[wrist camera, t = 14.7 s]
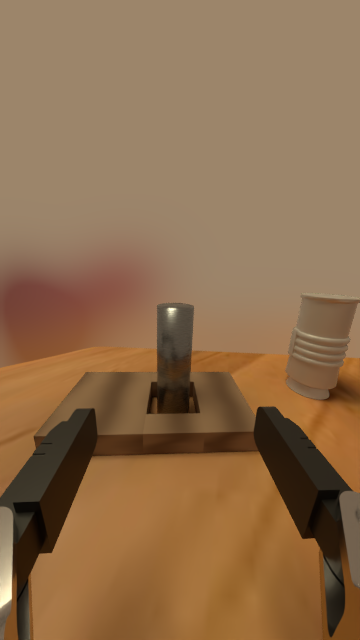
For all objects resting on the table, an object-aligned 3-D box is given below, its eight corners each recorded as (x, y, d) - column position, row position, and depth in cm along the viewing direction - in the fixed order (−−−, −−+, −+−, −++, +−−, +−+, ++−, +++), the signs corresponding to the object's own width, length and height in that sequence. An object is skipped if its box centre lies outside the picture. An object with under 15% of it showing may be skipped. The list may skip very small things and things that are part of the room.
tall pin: (156, 425, 21) (155, 309, 18) (158, 402, 25) (158, 302, 22) (189, 425, 22) (196, 310, 18) (186, 401, 25) (191, 303, 22)
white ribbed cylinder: (277, 373, 34) (293, 292, 30) (320, 379, 32) (342, 294, 28) (289, 396, 27) (311, 297, 23) (343, 405, 26) (377, 301, 22)
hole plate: (38, 457, 17) (33, 436, 17) (87, 386, 28) (86, 372, 27) (260, 450, 19) (264, 431, 18) (227, 385, 29) (229, 372, 29)
